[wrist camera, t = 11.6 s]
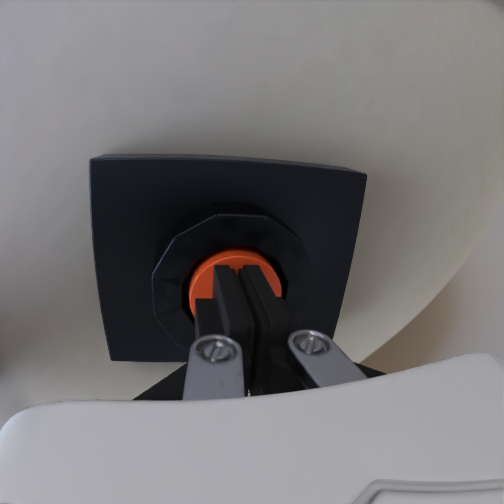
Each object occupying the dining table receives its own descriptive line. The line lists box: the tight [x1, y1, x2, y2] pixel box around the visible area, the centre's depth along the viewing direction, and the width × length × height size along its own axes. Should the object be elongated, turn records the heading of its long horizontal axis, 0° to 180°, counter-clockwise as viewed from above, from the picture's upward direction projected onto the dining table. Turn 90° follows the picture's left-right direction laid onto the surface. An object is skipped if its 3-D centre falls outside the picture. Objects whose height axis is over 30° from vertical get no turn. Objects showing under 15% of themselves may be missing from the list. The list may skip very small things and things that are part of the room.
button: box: [188, 246, 282, 317], centre depth 13 cm, size 4×4×2 cm
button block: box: [89, 154, 367, 362], centre depth 14 cm, size 12×10×4 cm
